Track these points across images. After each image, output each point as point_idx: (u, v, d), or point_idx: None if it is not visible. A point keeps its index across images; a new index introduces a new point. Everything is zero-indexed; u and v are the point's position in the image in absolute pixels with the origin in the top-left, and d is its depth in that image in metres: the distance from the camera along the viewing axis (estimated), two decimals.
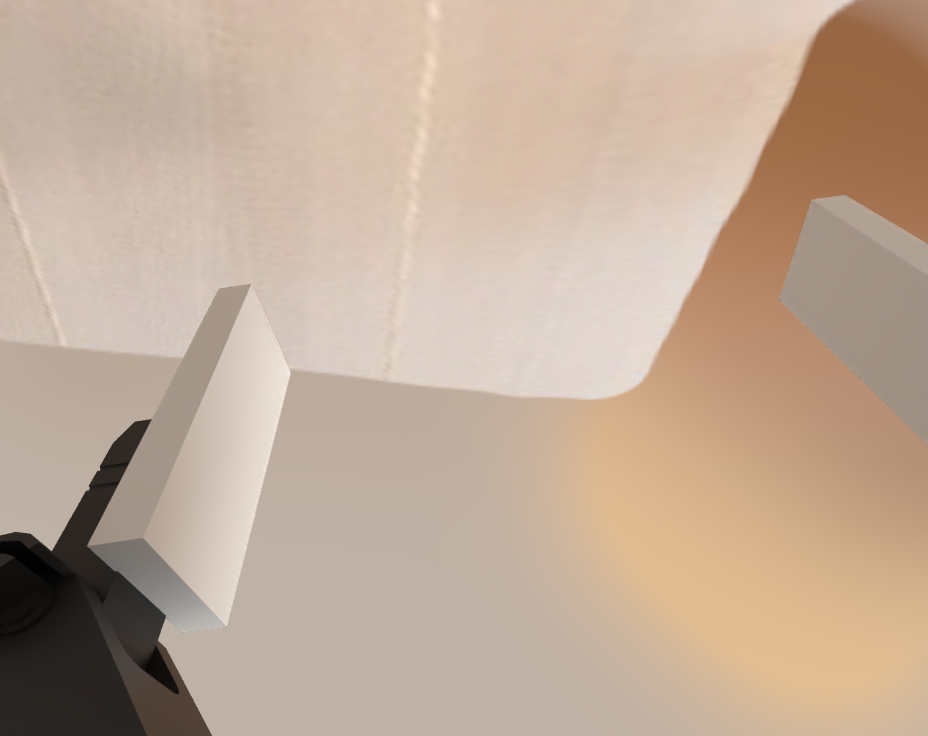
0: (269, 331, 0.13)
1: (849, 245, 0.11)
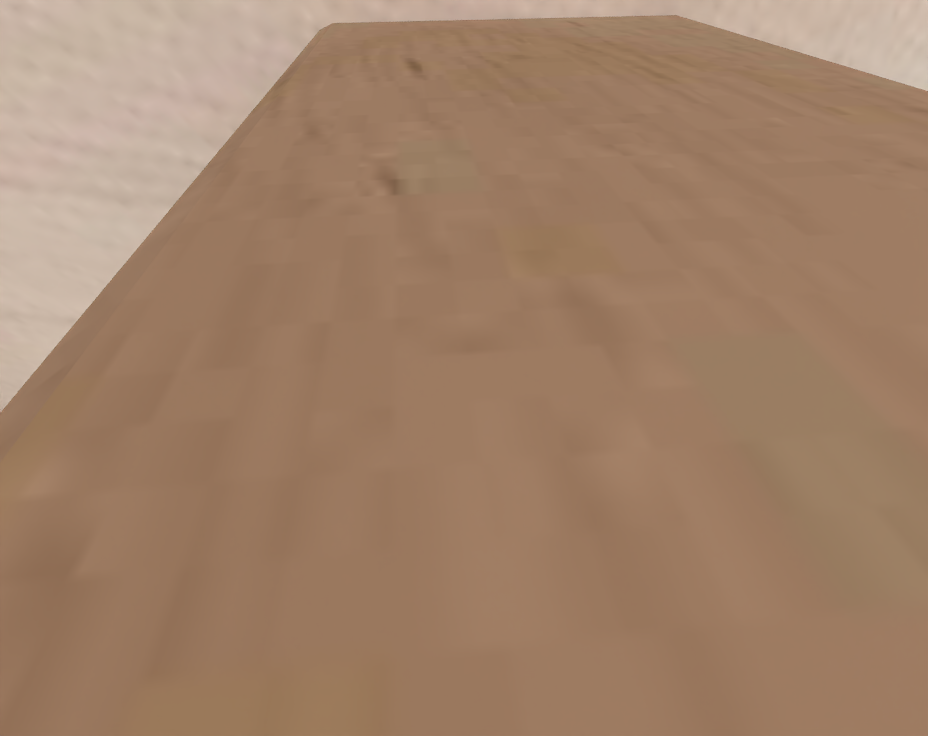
0: None
1: None
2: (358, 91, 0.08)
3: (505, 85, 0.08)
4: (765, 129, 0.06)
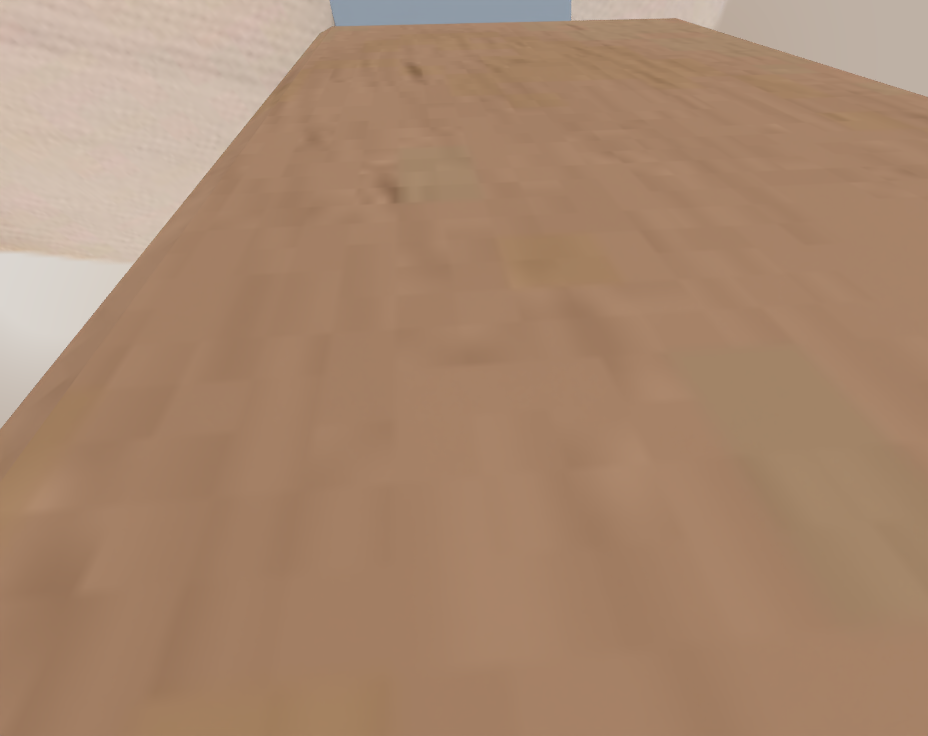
0: None
1: None
2: (358, 96, 0.08)
3: (505, 90, 0.08)
4: (765, 136, 0.06)
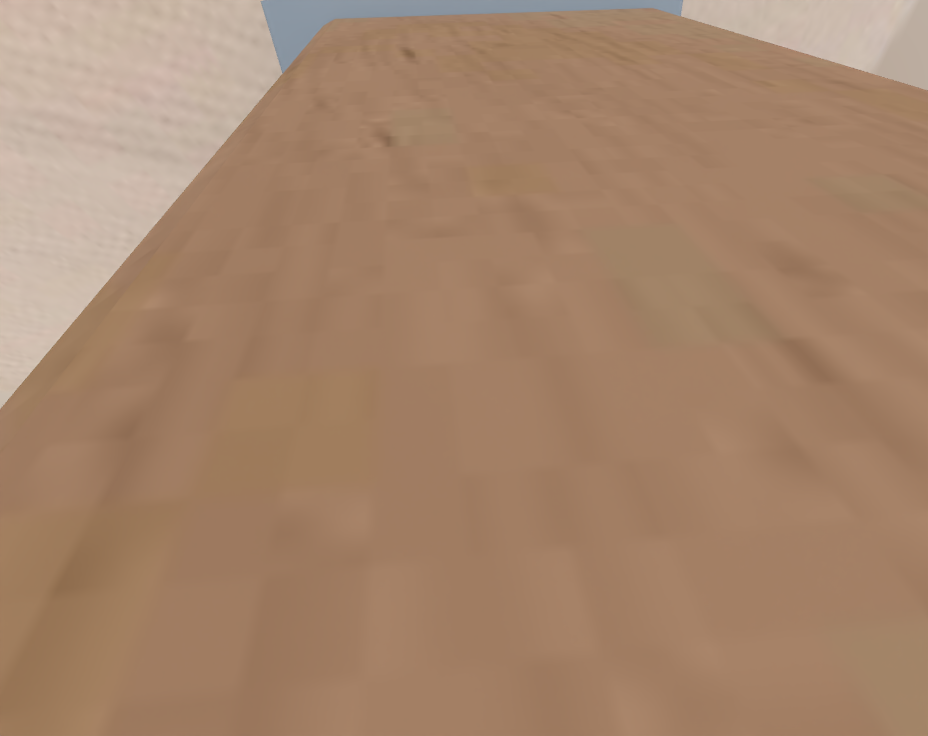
0: None
1: None
2: (359, 73, 0.09)
3: (487, 67, 0.09)
4: (700, 97, 0.07)
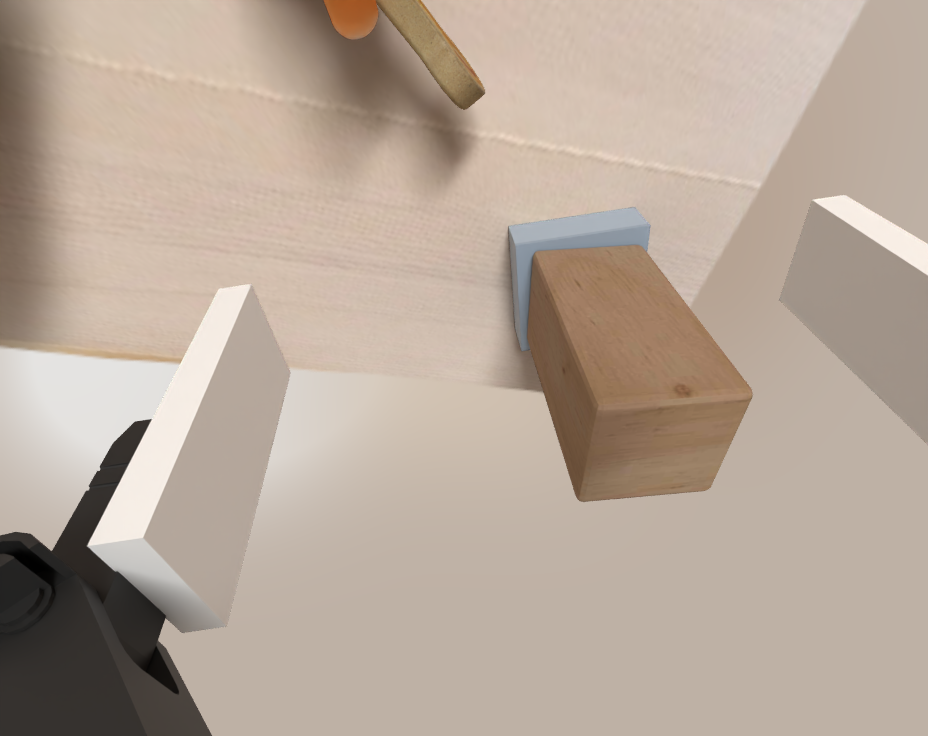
0: (269, 330, 0.13)
1: (849, 245, 0.11)
2: (573, 296, 0.40)
3: (600, 293, 0.40)
4: (644, 310, 0.38)
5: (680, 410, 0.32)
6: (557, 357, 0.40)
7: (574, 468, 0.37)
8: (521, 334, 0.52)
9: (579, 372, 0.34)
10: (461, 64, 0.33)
